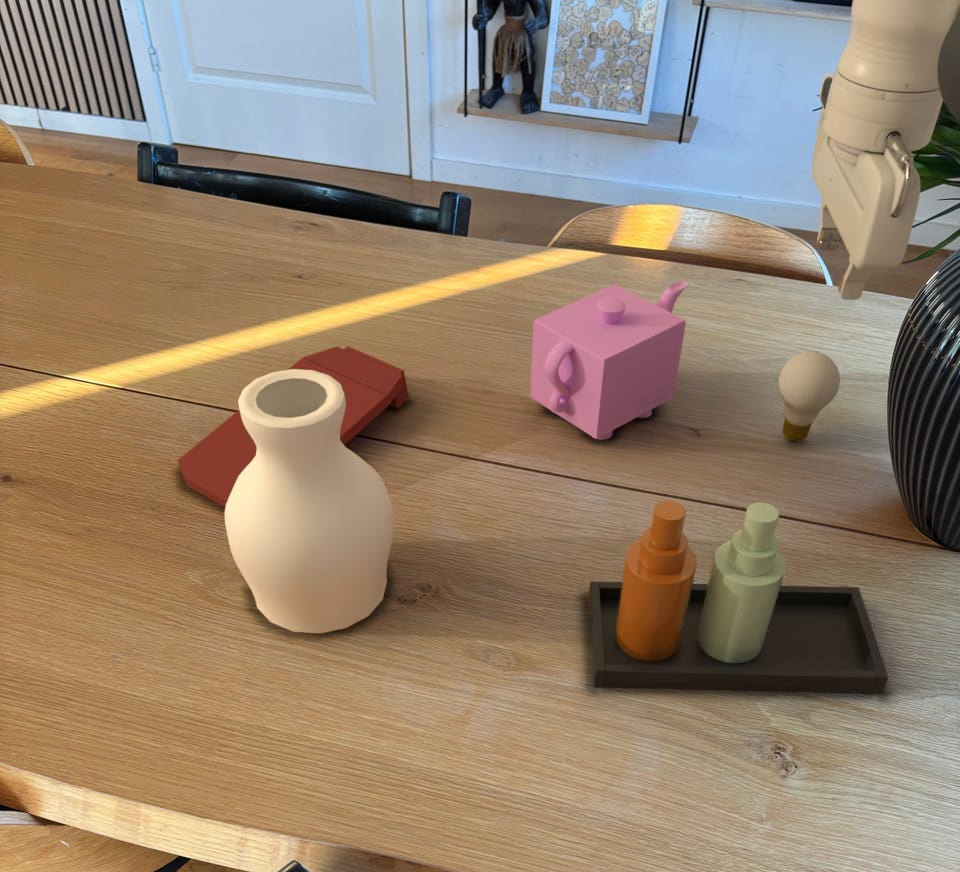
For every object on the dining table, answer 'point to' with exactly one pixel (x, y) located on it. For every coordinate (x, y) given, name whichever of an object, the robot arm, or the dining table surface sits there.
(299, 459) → the vase
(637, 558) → the amber bottle
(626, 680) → the tray
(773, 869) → the dining table surface
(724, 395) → the dining table surface
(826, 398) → the light bulb
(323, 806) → the dining table surface
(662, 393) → the teapot
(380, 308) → the dining table surface
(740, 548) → the pale green bottle
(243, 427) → the red flat block
